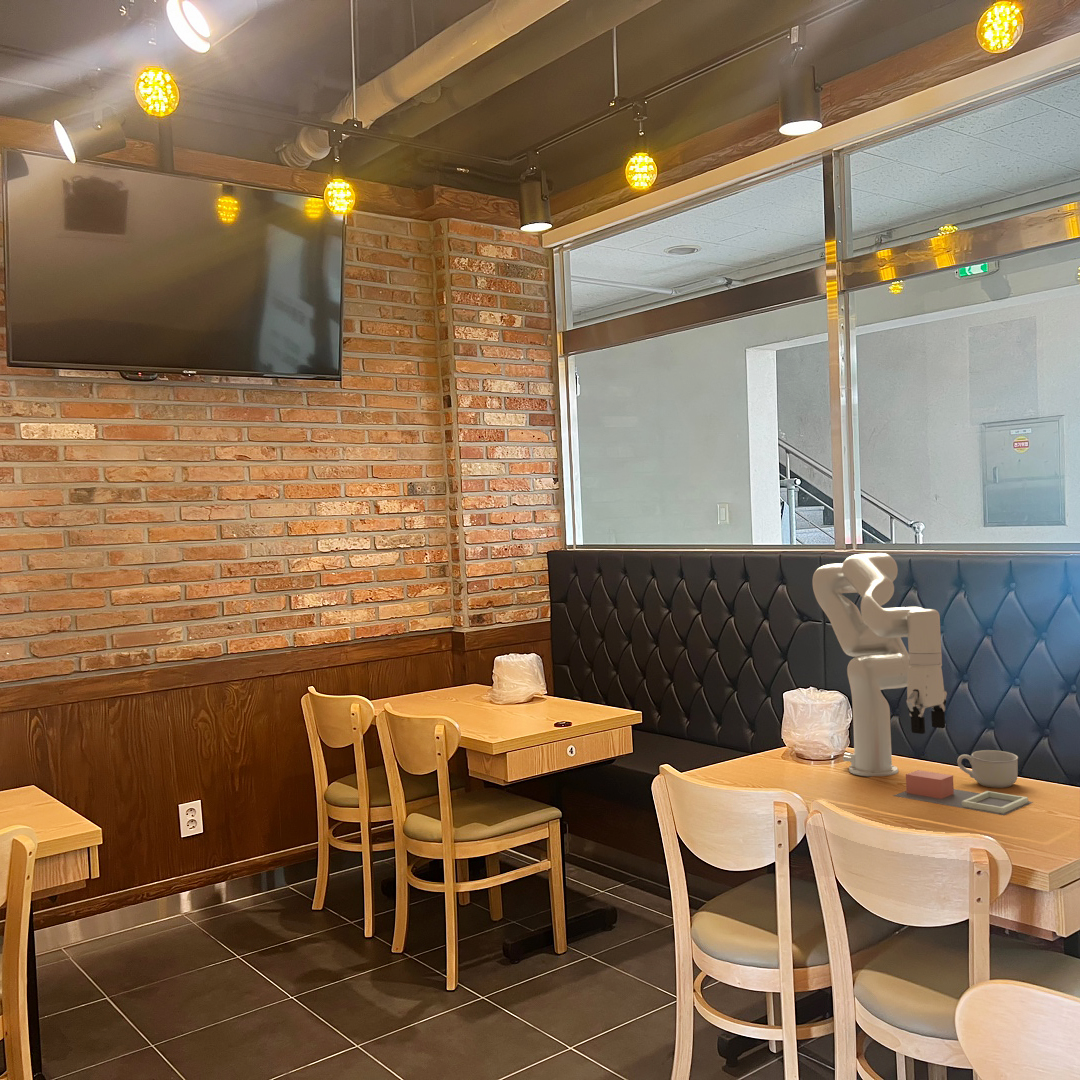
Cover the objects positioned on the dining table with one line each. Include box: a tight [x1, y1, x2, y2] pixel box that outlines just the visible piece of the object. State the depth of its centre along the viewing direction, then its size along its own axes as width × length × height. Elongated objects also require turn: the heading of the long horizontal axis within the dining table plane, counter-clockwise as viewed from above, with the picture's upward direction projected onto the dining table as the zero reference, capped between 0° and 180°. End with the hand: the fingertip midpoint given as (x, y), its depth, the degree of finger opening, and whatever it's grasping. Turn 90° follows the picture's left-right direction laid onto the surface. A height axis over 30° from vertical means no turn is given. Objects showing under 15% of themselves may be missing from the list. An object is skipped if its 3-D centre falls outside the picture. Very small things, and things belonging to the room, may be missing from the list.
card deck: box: [905, 769, 955, 799], centre depth 250 cm, size 9×6×4 cm, turn 41°
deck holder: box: [962, 790, 1029, 814], centre depth 238 cm, size 10×13×1 cm
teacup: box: [956, 749, 1019, 789], centre depth 257 cm, size 14×11×8 cm
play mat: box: [892, 788, 1034, 816], centre depth 244 cm, size 27×15×1 cm, turn 41°
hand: (928, 730), depth 250 cm, fingers open, 9 cm apart
